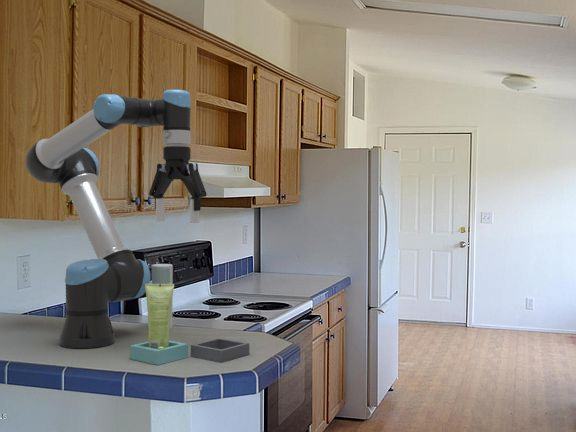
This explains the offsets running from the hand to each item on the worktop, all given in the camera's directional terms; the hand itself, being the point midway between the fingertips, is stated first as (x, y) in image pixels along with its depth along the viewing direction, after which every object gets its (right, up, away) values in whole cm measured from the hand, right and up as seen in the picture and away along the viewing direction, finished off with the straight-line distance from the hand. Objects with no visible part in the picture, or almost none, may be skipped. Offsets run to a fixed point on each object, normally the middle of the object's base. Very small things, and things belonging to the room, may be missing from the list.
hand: (177, 222), depth 201 cm
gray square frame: (+13, -35, -11) cm, 39 cm away
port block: (-2, -35, -14) cm, 38 cm away
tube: (-2, -36, -14) cm, 38 cm away
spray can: (-9, -34, +25) cm, 43 cm away
